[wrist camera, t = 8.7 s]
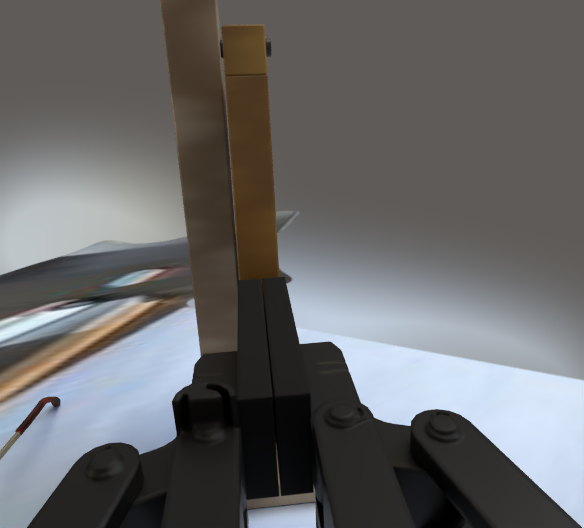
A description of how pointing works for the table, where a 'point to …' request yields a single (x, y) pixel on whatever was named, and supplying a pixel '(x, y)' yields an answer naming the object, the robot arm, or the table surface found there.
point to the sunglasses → (29, 421)
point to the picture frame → (251, 150)
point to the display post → (207, 177)
